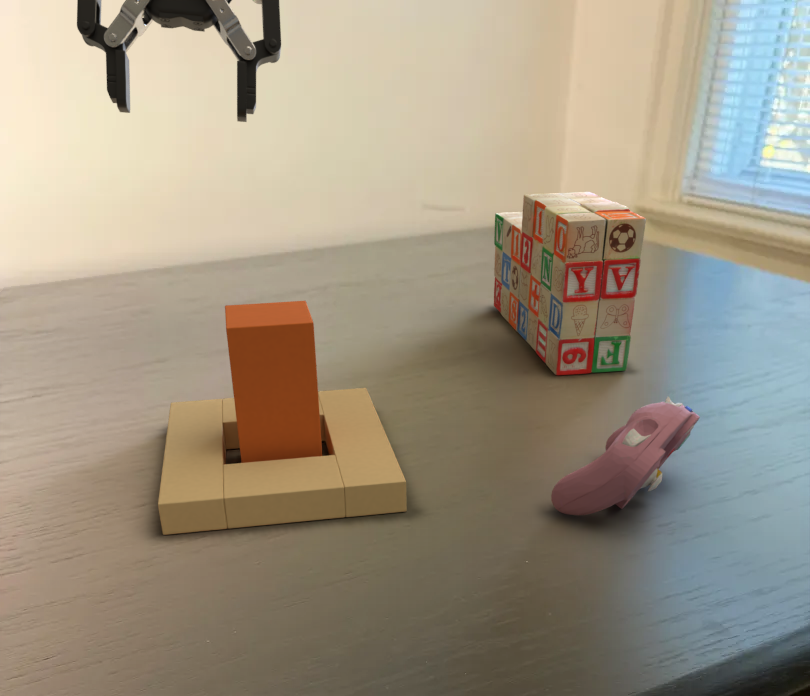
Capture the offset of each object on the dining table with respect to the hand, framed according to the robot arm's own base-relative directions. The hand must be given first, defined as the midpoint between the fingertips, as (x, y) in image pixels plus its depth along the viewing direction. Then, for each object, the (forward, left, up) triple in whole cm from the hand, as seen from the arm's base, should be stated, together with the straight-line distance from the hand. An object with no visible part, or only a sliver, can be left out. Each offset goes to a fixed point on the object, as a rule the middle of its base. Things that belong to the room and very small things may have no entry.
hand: (183, 114), depth 66 cm
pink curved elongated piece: (+33, -19, -20) cm, 43 cm away
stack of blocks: (+28, +13, -20) cm, 37 cm away
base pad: (+11, -18, -19) cm, 29 cm away
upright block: (+11, -18, -19) cm, 29 cm away
